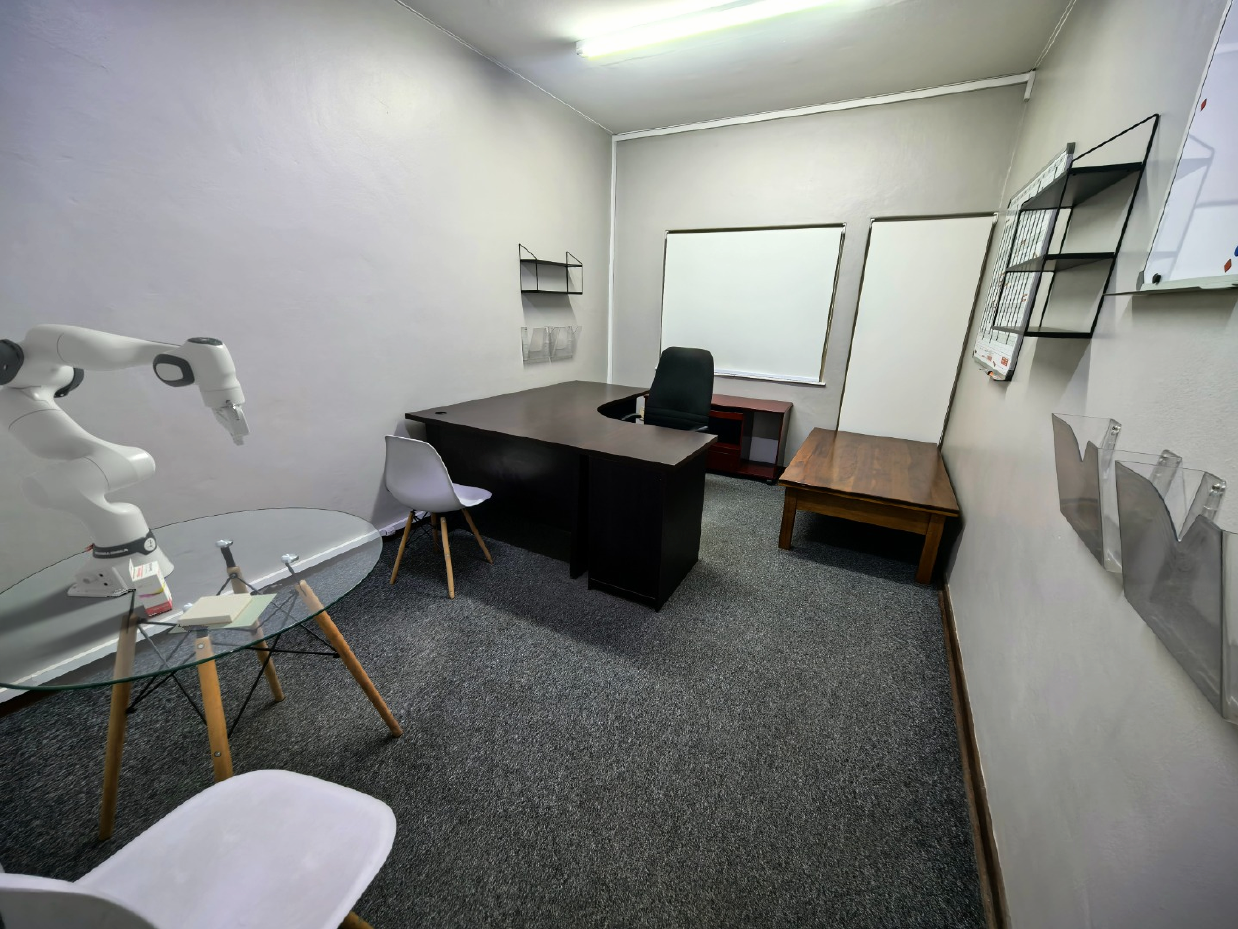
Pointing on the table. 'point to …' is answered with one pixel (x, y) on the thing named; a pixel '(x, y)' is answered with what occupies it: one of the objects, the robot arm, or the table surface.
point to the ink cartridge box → (151, 587)
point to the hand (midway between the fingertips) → (239, 444)
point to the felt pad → (241, 614)
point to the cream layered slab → (215, 609)
